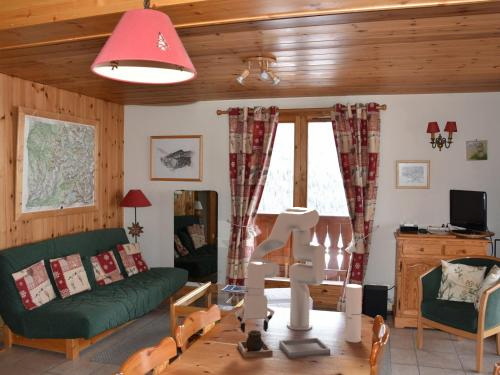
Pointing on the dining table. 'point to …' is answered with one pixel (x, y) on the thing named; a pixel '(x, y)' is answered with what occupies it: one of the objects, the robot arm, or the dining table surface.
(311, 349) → the tray
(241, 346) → the tray
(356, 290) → the cylindrical container
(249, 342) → the mate gourd
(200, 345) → the dining table surface
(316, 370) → the dining table surface
